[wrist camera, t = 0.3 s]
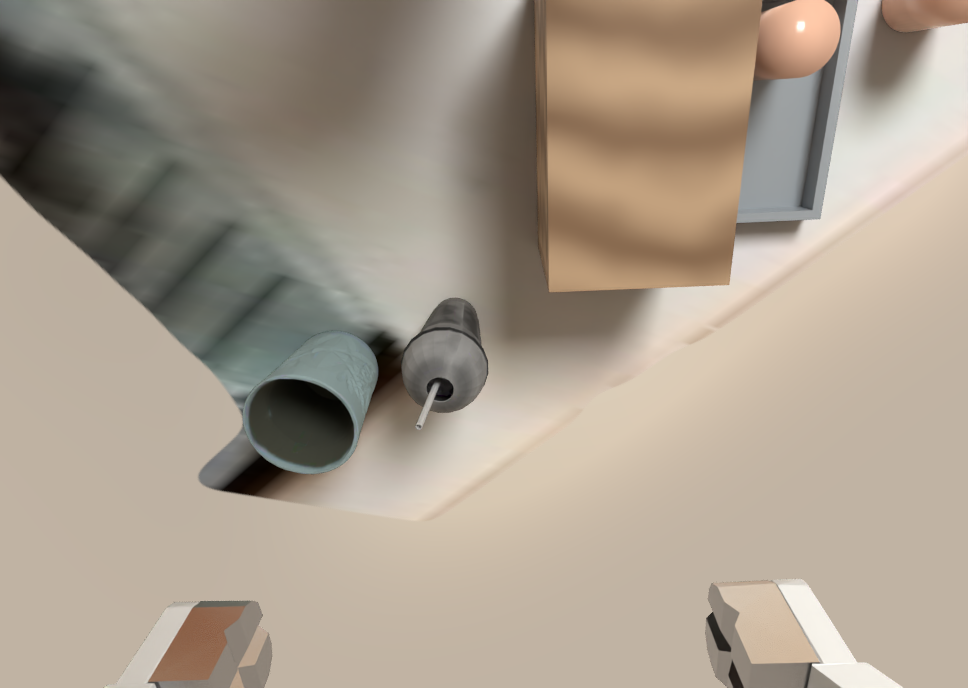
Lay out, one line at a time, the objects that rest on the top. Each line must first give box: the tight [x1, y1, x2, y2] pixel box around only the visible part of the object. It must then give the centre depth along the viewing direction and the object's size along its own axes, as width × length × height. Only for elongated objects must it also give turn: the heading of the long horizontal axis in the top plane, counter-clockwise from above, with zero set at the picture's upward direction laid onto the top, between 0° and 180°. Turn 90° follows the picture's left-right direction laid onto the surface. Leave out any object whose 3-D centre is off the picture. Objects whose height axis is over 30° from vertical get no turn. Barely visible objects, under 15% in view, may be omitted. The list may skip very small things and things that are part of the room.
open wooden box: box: [534, 0, 762, 292], centre depth 44 cm, size 22×13×14 cm, turn 3°
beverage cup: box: [401, 298, 488, 430], centre depth 49 cm, size 7×7×20 cm
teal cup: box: [243, 331, 378, 474], centre depth 56 cm, size 10×10×12 cm
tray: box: [736, 0, 858, 223], centre depth 49 cm, size 18×15×3 cm
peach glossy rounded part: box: [753, 0, 840, 81], centre depth 44 cm, size 5×5×8 cm
